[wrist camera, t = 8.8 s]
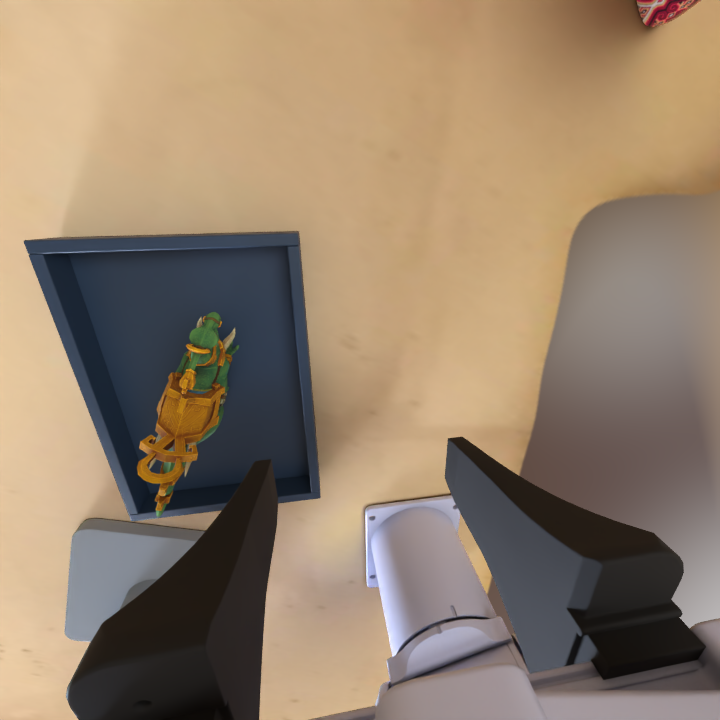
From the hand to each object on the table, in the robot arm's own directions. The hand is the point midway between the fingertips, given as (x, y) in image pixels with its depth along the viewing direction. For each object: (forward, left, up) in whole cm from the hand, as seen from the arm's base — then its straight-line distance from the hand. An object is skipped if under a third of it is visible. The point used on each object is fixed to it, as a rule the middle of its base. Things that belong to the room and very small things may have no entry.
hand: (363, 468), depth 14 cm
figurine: (0, +8, -9) cm, 12 cm away
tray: (0, +8, -10) cm, 13 cm away
